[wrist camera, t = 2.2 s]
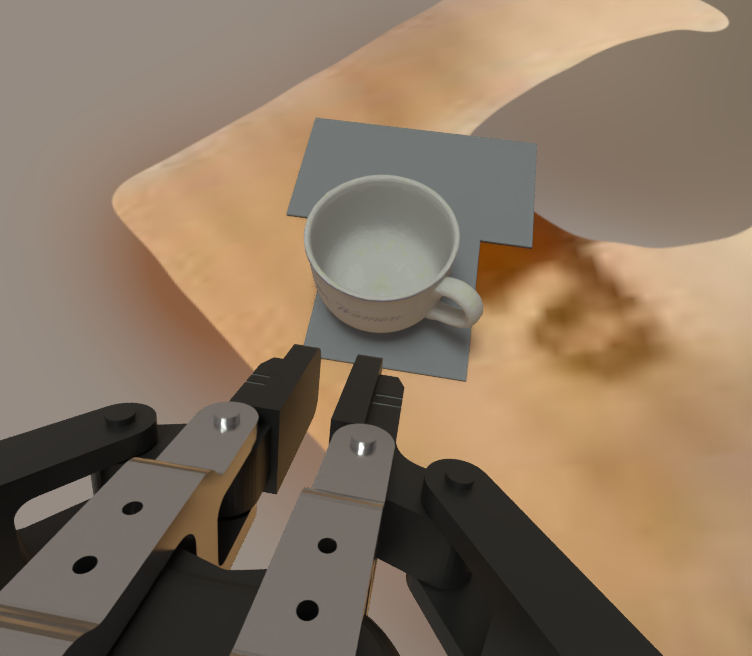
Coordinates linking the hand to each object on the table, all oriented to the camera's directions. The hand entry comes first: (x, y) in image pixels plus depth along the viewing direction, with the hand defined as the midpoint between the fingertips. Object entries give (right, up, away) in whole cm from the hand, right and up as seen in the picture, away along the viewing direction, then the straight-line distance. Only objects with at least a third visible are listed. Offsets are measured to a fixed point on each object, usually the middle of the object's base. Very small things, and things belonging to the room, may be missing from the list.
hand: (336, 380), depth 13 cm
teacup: (+3, +4, +26) cm, 26 cm away
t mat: (+4, +10, +28) cm, 30 cm away
